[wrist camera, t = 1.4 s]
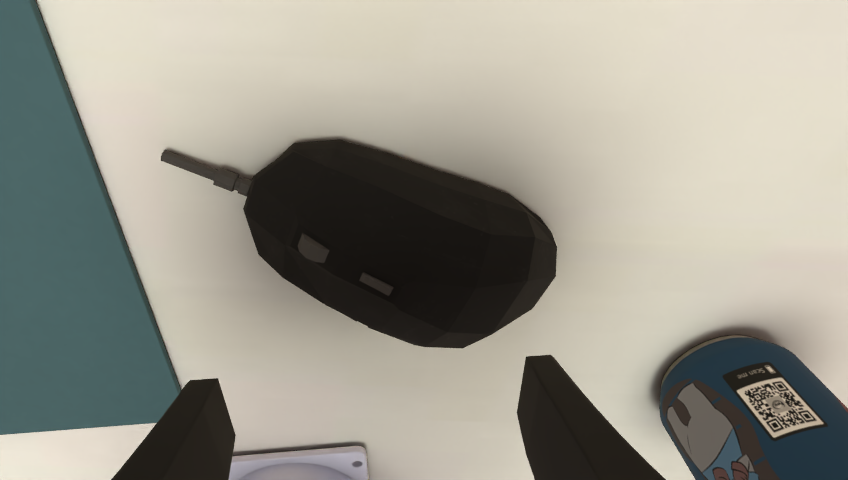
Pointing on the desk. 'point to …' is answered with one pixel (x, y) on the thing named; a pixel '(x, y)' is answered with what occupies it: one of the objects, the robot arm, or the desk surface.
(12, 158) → the mouse pad
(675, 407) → the soda can
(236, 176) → the gaming mouse
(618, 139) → the desk surface
